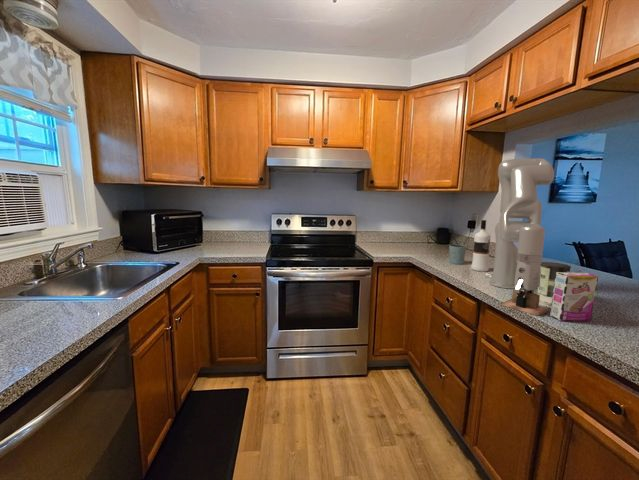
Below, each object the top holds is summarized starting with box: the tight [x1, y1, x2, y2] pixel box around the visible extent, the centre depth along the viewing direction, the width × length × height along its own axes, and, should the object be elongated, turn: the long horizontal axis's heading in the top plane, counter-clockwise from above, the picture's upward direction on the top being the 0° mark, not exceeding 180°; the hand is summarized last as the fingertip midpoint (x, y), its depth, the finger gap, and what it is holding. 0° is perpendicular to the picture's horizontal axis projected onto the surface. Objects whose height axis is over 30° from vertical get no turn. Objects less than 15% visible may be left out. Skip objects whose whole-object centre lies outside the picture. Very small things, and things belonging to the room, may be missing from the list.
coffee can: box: [536, 261, 572, 298], centre depth 123 cm, size 10×10×14 cm
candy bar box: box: [549, 271, 599, 322], centre depth 99 cm, size 11×5×16 cm, turn 92°
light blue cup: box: [448, 243, 467, 266], centre depth 186 cm, size 10×10×12 cm
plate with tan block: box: [502, 289, 549, 317], centre depth 108 cm, size 12×7×6 cm, turn 31°
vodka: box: [470, 219, 492, 273], centre depth 167 cm, size 9×9×30 cm
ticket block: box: [539, 296, 552, 309], centre depth 116 cm, size 12×8×2 cm, turn 31°
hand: (524, 304), depth 108 cm, fingers open, 4 cm apart
